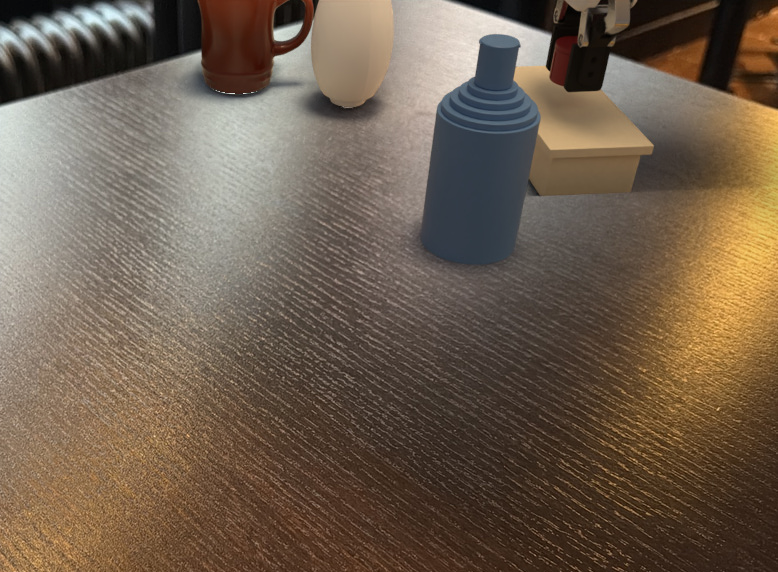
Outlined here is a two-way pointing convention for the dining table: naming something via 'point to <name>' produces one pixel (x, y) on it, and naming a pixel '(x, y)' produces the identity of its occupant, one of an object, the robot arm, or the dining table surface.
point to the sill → (580, 139)
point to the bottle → (480, 161)
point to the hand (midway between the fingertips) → (573, 77)
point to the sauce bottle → (351, 48)
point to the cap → (561, 59)
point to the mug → (243, 42)
